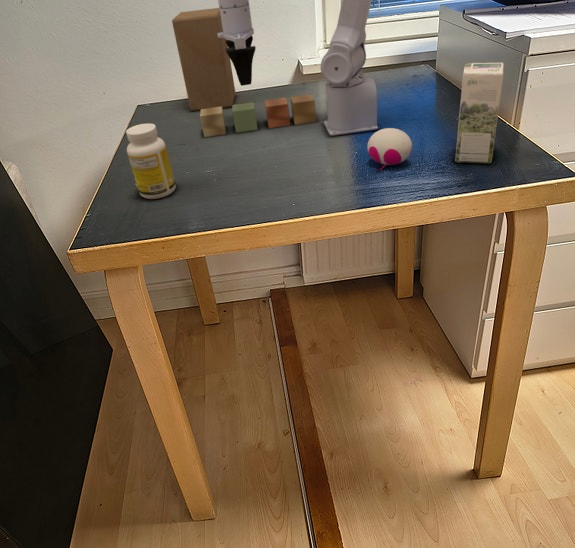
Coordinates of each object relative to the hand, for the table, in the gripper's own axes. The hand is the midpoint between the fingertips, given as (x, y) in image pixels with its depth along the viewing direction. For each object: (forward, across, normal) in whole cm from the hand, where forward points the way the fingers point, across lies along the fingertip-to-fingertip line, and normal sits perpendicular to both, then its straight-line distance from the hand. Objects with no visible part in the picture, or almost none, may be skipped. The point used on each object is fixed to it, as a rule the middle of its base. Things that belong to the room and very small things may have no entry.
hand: (245, 79), depth 106 cm
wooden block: (+10, -19, -8) cm, 23 cm away
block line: (+9, +2, +2) cm, 10 cm away
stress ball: (+10, +30, +22) cm, 38 cm away
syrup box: (+10, +32, +35) cm, 49 cm away
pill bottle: (+10, +28, -18) cm, 34 cm away
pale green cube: (+9, +2, -1) cm, 10 cm away
